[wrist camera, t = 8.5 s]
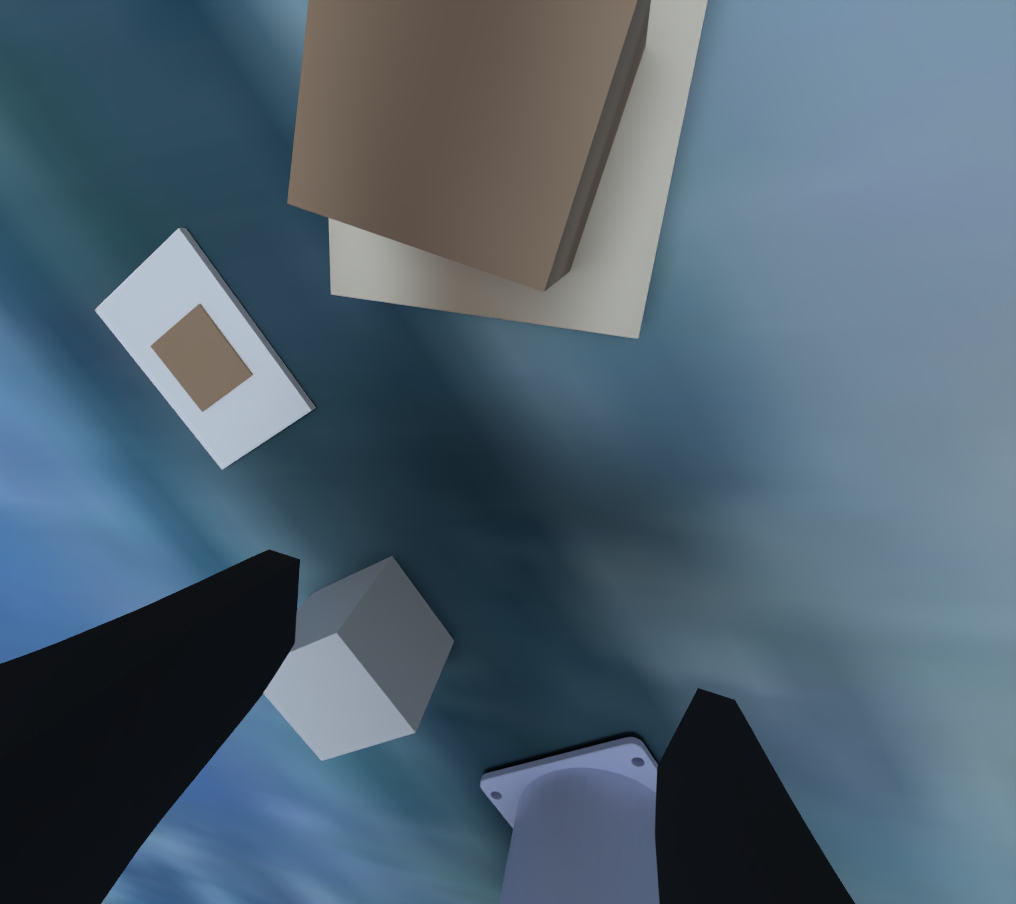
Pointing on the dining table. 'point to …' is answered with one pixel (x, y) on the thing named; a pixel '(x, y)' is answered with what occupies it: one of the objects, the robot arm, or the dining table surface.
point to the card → (203, 351)
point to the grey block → (360, 662)
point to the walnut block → (465, 123)
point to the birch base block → (609, 228)
